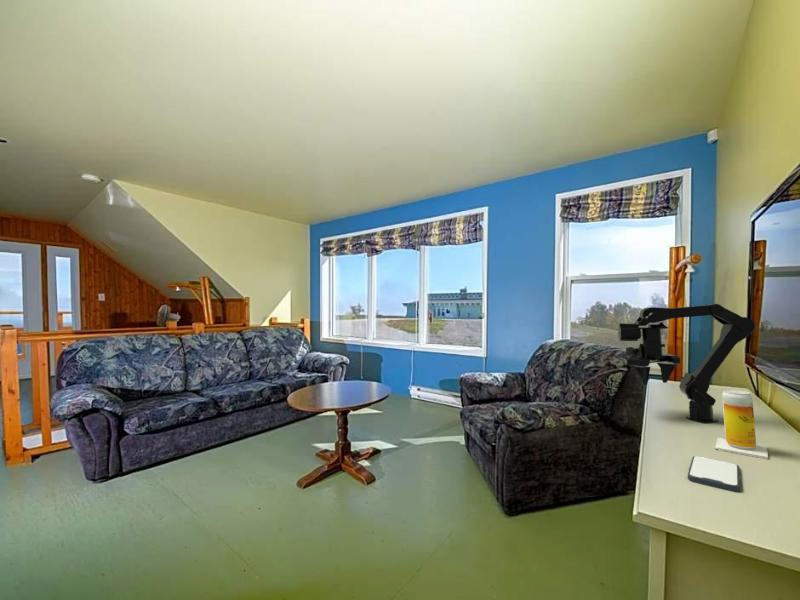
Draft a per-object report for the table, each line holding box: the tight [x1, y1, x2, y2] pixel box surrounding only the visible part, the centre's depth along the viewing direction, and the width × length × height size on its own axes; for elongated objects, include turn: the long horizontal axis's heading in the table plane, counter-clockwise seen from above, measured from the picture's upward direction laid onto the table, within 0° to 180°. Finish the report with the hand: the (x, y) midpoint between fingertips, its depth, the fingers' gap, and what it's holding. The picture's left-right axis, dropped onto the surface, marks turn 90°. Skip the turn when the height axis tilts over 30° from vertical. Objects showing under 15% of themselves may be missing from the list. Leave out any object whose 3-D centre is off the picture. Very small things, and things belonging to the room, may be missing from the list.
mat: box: [714, 437, 769, 460], centre depth 95 cm, size 10×10×1 cm
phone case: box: [687, 455, 741, 493], centre depth 82 cm, size 9×2×16 cm
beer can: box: [721, 389, 757, 450], centre depth 96 cm, size 6×6×15 cm
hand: (654, 383), depth 126 cm, fingers open, 9 cm apart
